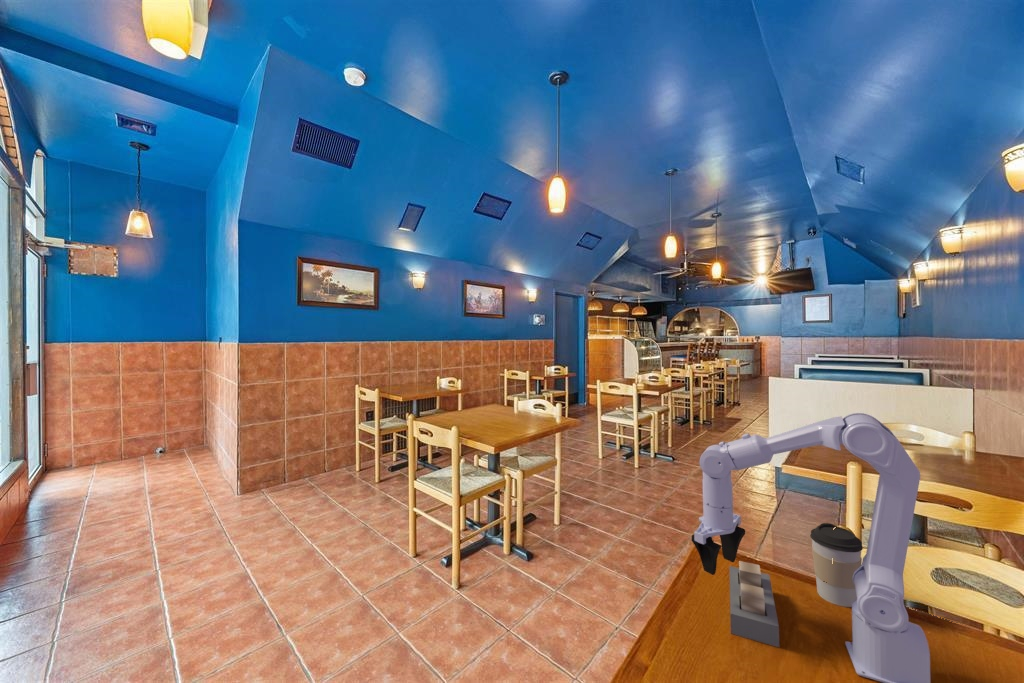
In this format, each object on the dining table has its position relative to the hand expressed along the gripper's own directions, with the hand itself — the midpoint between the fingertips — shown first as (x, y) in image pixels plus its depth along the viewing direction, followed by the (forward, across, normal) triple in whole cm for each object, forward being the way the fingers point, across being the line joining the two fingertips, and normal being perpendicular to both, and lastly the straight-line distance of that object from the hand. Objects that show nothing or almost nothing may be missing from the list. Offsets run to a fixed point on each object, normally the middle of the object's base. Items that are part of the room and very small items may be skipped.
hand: (719, 566), depth 84 cm
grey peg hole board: (+10, -5, +4) cm, 12 cm away
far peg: (+6, -9, +2) cm, 11 cm away
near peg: (+6, -1, +6) cm, 9 cm away
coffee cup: (+10, -25, +12) cm, 30 cm away
